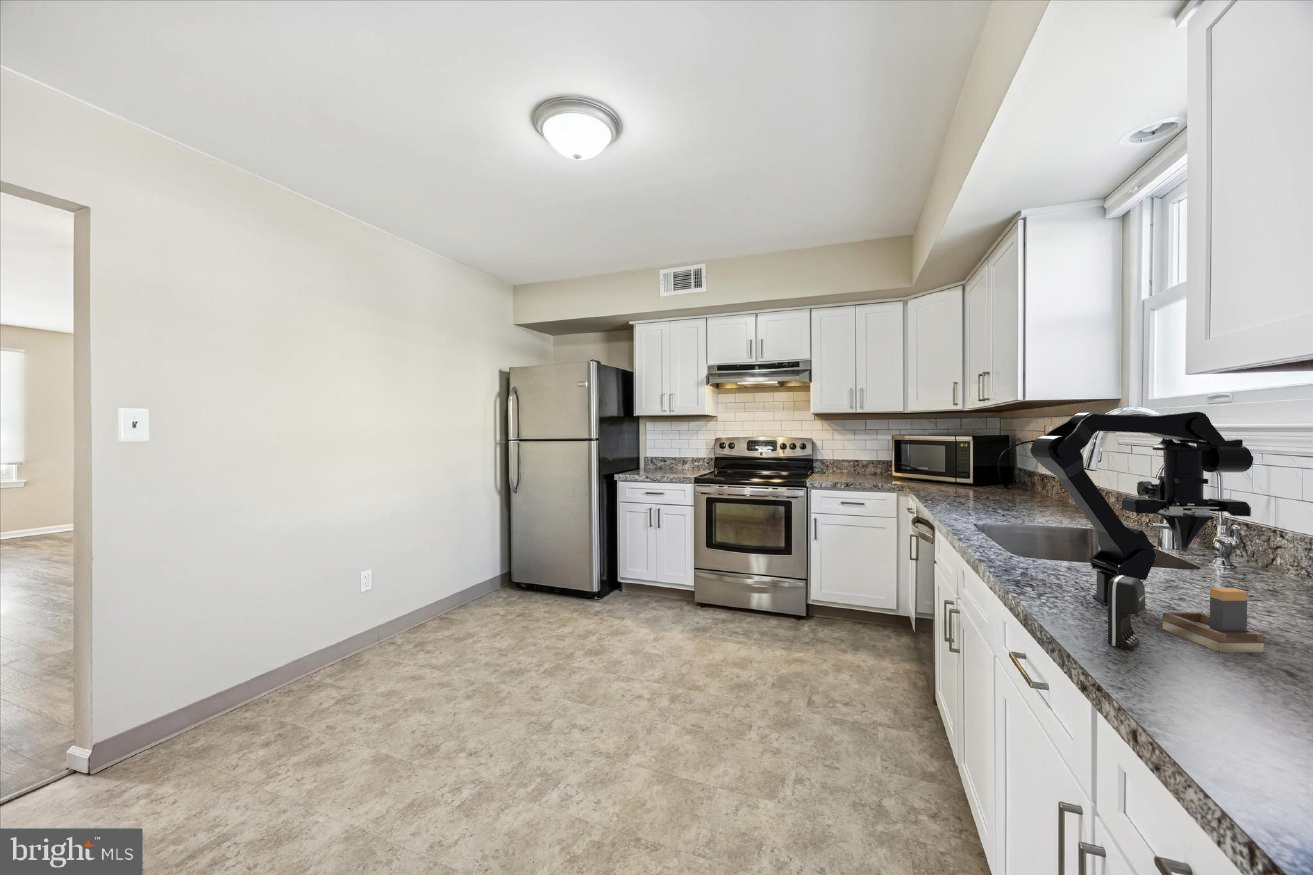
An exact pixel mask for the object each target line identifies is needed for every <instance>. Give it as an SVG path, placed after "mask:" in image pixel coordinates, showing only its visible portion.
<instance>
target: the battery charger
mask: <svg viewBox="0 0 1313 875" xmlns="http://www.w3.org/2000/svg"><path fill="white" fill-rule="evenodd" d="M1144 607H1145V608H1146V589H1145V584H1144V582H1143V580H1139V579H1137V578H1132V577H1126V576H1123V575H1121V576H1120V575H1117V576H1115V577H1113V578H1112V579H1111V580H1110V581H1109V584H1108V606H1107V644H1108V645H1109V646H1112V647H1115V648H1117V647H1118V648H1121V649H1126V650H1133V649H1134V648H1135V647H1136V646H1137V645H1138V644H1139V643H1140V640H1141V639H1140V637H1139V636H1137V634H1136V632H1135V631H1134V629H1133V627H1132V618H1131V617H1132V616H1134V615H1136V616H1137V615H1138V614H1139V613H1141V612H1142V611H1143V610H1144Z"/></svg>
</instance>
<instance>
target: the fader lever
mask: <svg viewBox="0 0 1313 875" xmlns="http://www.w3.org/2000/svg"><path fill="white" fill-rule="evenodd" d="M1209 615H1210V628H1211V629H1214V630H1216V631H1219V632H1247V628H1248V591H1246V590H1243V589H1240V588H1237V587H1210V588H1209Z"/></svg>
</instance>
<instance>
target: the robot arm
mask: <svg viewBox="0 0 1313 875" xmlns="http://www.w3.org/2000/svg"><path fill="white" fill-rule="evenodd" d="M1097 432H1108V433H1109V432H1110V433H1112V432H1113V433H1132V434H1133V433H1137V434H1146V435H1150V436H1153V437H1157V438H1161V441H1160V442H1158V443H1156V444H1155V445H1154V446H1152V450H1153V451H1163V452H1164V455H1163V456H1164V461H1163V462H1164V464H1163V465H1164V468H1163V470H1164V474H1163V475H1160V477H1159V479H1158V480H1159V481H1158V482H1159V483H1153V482H1152V481H1147V480H1145V481H1144V480H1140V481H1138V482H1137V484H1136V493H1137V496H1125V497H1123V499H1122V501H1121V510H1123V511H1127V512H1131V513H1135V514H1148V515H1149V514H1154V515H1156V516H1160V517H1162V518H1163V520H1164V521H1165V522H1166V524H1167V525H1168V526H1169V528H1170V530H1171V534H1172V535H1173V537H1174V540H1175V541H1176V544H1177V545H1178V547H1179V548H1182V549H1187V548H1189V547H1190V544H1191V543H1192V542H1193V540H1194V539H1195V538H1196V536H1197V535H1198V533H1199V532H1200V530H1202V528H1203V527H1204V526H1205V525H1206V524H1207V523H1208V522H1209V521H1211V520H1212V521H1213V520H1215V516H1211V515H1210V512H1213V513H1214V512H1220V513H1221V512H1224V513H1227V514H1228V515H1230V516H1231V517H1252V507H1251V505H1250V504H1249V503H1248V502H1247V501H1243V500H1236V499H1231V498H1204V486H1205V485H1209V479H1208V478H1204V475H1205V474H1204V472H1205V473H1244V472H1247V471H1248V470H1249V469H1251V468H1252V466H1253V463H1254V456H1253V455H1252V453H1251V451H1250V449H1248V448H1247V447H1246V446H1245V445H1243V443H1244V442H1243V441H1244V440H1243V439H1239V438H1238V439H1236V438H1228V439H1227V438H1226V439H1225V438H1224V437H1223V436H1222V434H1221V433H1220V432H1219V431H1218V430H1217V429H1216V427H1215V426H1214V425H1213V423H1211V420H1210V418H1209V417H1208V415H1207V414H1206V413H1204V412H1203V411H1202V412H1201V411H1182V412H1181V411H1175V412H1173V411H1172V412H1171V411H1170V412H1163V413H1156V414H1151V415H1142V414H1141V415H1139V414H1137V415H1136V414H1135V415H1134V414H1133V415H1132V414H1111V413H1110V414H1109V413H1106V414H1105V413H1097V412H1079V413H1076V414H1073V416H1071V417H1070V418H1068V420H1066V421H1065V422H1063V423H1061V424H1060V425H1058V426H1056V427H1055V428H1053V429H1051V430H1049V431H1047V433H1046V434H1044V435H1041V436H1039V437H1036V439H1034V441H1033V442H1032V444H1031V447H1030V449H1029V451H1030V454H1031V456H1032V457H1033V458H1034V460H1036V461H1037V462H1038V463H1039V464H1040V465H1041V466H1042V468H1043V469H1044V468H1045V470H1047V471H1048V472H1050V473H1051V474H1052V475H1055V477H1057V478H1058V479H1059V481H1060V482H1061V483H1062V485H1063V486H1064V488H1066V490H1067V492H1068V493H1069V495H1070V497H1072V498H1073V500H1074V502H1075V503H1076V504H1077V506H1078V507H1079V508H1080V510H1081V511H1082V513H1083V514H1084V515H1085V517H1086V518H1087V520H1088V521H1089V522H1090V524H1091V526H1093V528H1094V529H1095V531H1096V533H1097V544H1098V545H1099V546H1098V547H1099V548H1100V549H1099V550H1098V551H1097V552H1096V553H1095V554H1094V555H1092V556H1091V557H1090V558H1089V559H1088V560H1089V564H1090V566H1091V568H1092V569H1094V570H1096V593H1095V594H1092V596H1091V597H1092V598H1093V599H1095V600H1097V601H1098V602H1100V603H1102V604H1104V605H1105V606H1107V607H1108V584H1109V581H1110V580H1111V579H1112V578H1113V577H1115V576H1117V575H1120V576H1121V575H1123V576H1126V577H1132V578H1137V579H1139V580H1141V581H1146V580H1147V579H1148V576H1149V573H1150V571H1151V569H1152V567H1153V566H1154V564H1155V562H1156V559H1157V553H1156V551H1155V548H1157V546H1156V545H1154V544H1153V543H1152V542H1151V541H1150V540H1149V538H1148V536H1147V534H1146V532H1145V531H1144V530H1141V529H1137V528H1133V527H1131V526H1126V525H1125V524H1124V523H1123V521H1122V520H1121V519H1120V517H1119V516H1118V514H1117V513H1116V512H1115V510H1114V509H1113V508H1112V506H1111V505H1110V503H1109V502H1108V501H1107V499H1106V498H1105V497H1104V495H1103V494H1102V492H1101V491H1100V489H1099V488H1098V486H1096V484H1095V482H1094V481H1093V480H1092V478H1091V476H1090V475H1089V474H1088V473H1087V471H1086V470H1085V466H1084V465H1085V462H1084V456H1083V454H1082V449H1084V448H1085V447H1087V445H1088V444H1089V443H1090V441H1091V439H1092V438H1093V437H1094V435H1095V434H1096V433H1097ZM1144 609H1146V606H1145V607H1144ZM1144 609H1143V610H1144Z"/></svg>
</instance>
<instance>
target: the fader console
mask: <svg viewBox="0 0 1313 875" xmlns="http://www.w3.org/2000/svg"><path fill="white" fill-rule="evenodd" d="M1162 630H1165V631H1168V632H1169V633H1172V634H1174V635H1176V636H1180V637H1182V638H1184V639H1187V640H1189V641H1192V642H1194V643H1196V644H1200V645H1201V644H1202V646H1204V645H1205V646H1204V647H1206V648H1208V647H1210V648H1209V649H1211V648H1212V649H1211V650H1213V649H1215V650H1214V651H1216V650H1217V651H1216V652H1218V651H1220V652H1219V653H1226V652H1225V651H1231V652H1230V653H1264V650H1265V649H1264V648H1265V647H1264V645H1265V641H1264V640H1265V638H1264V637H1265V634H1264V633H1261V632H1259V631H1255V630H1253V629H1249V628H1248V627H1247V632H1219V631H1216V630H1214V629H1211V628H1210V614H1207V613H1205V612H1198V611H1197V612H1162Z"/></svg>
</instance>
